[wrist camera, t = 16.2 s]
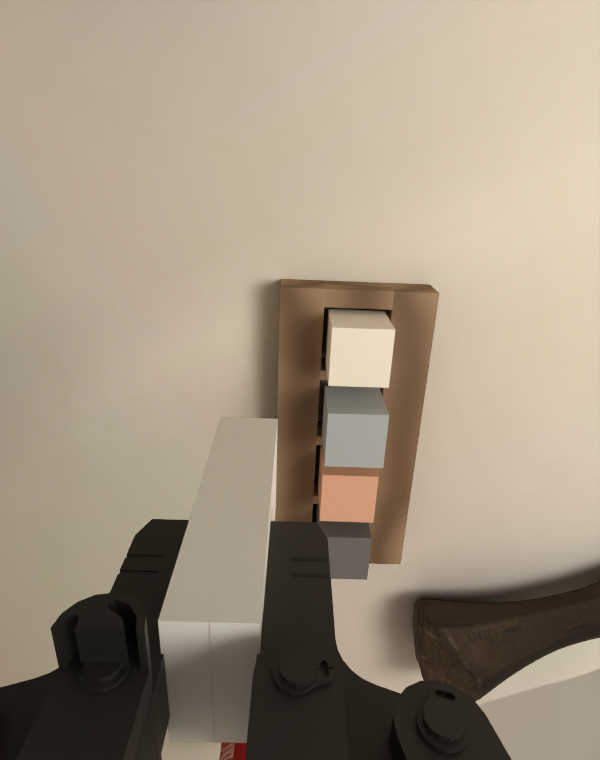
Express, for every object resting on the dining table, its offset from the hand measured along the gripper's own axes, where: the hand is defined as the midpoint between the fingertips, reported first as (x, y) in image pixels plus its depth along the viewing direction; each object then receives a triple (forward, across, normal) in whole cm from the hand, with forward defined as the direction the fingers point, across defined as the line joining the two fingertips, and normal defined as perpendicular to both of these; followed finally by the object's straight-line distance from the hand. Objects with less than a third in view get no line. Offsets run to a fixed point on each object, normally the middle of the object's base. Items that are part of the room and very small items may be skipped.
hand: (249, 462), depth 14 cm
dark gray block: (+27, +6, -23) cm, 36 cm away
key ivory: (+27, +6, -5) cm, 28 cm away
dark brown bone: (+29, +27, -33) cm, 52 cm away
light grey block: (+26, +6, -11) cm, 29 cm away
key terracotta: (+27, +6, -17) cm, 33 cm away
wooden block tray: (+29, +6, -14) cm, 33 cm away
